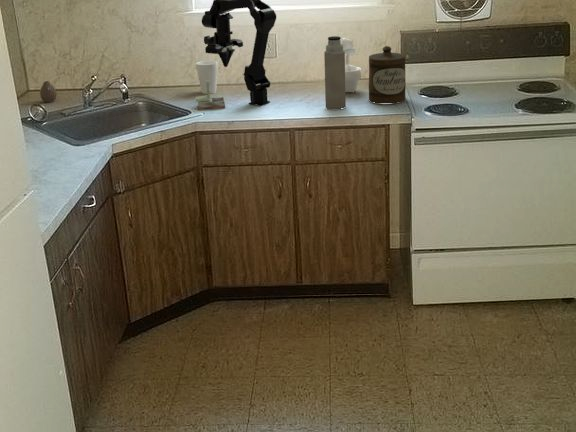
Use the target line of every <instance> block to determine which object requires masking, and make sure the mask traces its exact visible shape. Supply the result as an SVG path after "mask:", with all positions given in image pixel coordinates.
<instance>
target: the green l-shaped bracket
mask: <svg viewBox="0 0 576 432" xmlns="http://www.w3.org/2000/svg"><path fill="white" fill-rule="evenodd" d="M206 88H207V94H206V95H205V96H201V95H200V96H195V102H196V103H198V101H211V100H210V98H211V96H210V95H211V93H210V94H209V82H208V80H206Z"/></svg>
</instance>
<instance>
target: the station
mask: <svg viewBox="0 0 576 432" xmlns="http://www.w3.org/2000/svg"><path fill="white" fill-rule="evenodd" d="M224 98H225V97H224V96H220V97H217V96H216V97H210V99H212V102H204V103H198V102H197V109H198V111H204V110H205V111H206V110H217V109H218V110H219V109H221V110H222V109H226V105H225V104H226V103H225V99H224Z"/></svg>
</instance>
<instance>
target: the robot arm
mask: <svg viewBox="0 0 576 432" xmlns="http://www.w3.org/2000/svg"><path fill="white" fill-rule="evenodd" d="M238 9H239V10H240V9H248V11H249V15H250V16H251V17H252V18H253V20H254V21H253V22H254V23H253V24H254V27H255V29H256V32H255V37H254V38H255V40H254V45H253V51H252V57H251V61H250V64H248V65H245V66H244V71H243V72H244V73H243V74H242V75H243V79H244V82H245V86H246V90H247V91H249V97H250V98H249V99H250V102H248V104H249V105H253V106H260V107H261V106H264V105H266V104H269V103H271V100H268V89H269V88H270V86H271V81H270V80H269V79H268V78H267V76H266V69H265V66H264V62H265V61H264V60H265V58H266V57H265V56H266V51H267V46H268V39H269V35H270V31H271V30H272V29H273V28H274V26H275V24H276V20H277V13H276V11H274V9H272V7H271V6H270V5H269V4H267V3H265V2H264V1H262V0H213V1H212V4H211V6H210V9H209V10H206V11H204V14H203V15H202V18H201V24H202V26H203V27H205V28H208V29H209V28H210V29H216V30H215V32H213V36H210V35H206V36H203V43H204V45H207V46H205V47H204V48H205V54H213V55H218V56H219V58H220V60H221V62H222V65H223V67H224V68H227V67H228V66H229V63H230V60H231V58H232V56H233V54H234V52H235V51H236V49H235V48H233V47H235V46H237V48H241V47H244V42H243V40H242V39H239V38H237V39H236V38H232V37H231V35H234V34H233V31H231V21H230V19H231V20H233V19H234V16H233V14H231V13H230V12H231V11H233V10H238ZM257 9H258V10H257Z"/></svg>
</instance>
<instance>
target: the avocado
mask: <svg viewBox="0 0 576 432" xmlns="http://www.w3.org/2000/svg"><path fill="white" fill-rule="evenodd" d="M57 94H58V93H57V90H56V88H55V87H54V85H53V84H51V82H50V81H49V80H47V81H43V83H42V85H41V87H40V89H39V95H40V99H41V100H42V101H43V102H44V103H45V104H46V103H48V104H49V103H54V102H55V101H56V100H57V97H58V96H57Z"/></svg>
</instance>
